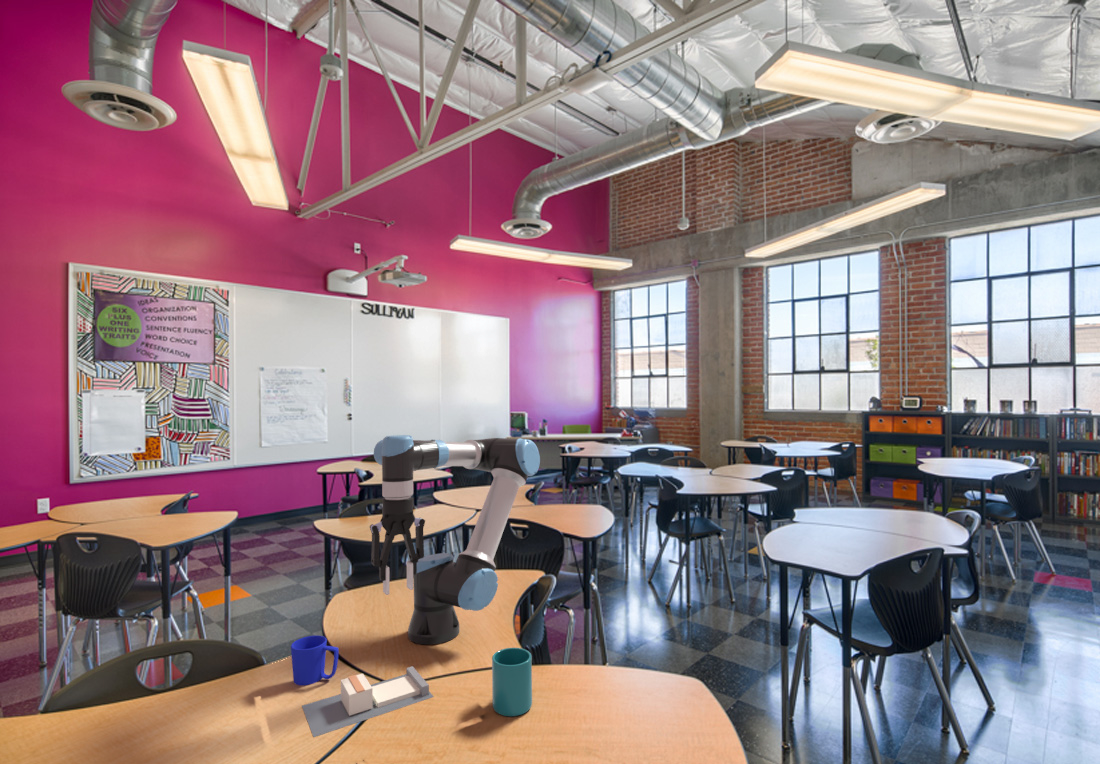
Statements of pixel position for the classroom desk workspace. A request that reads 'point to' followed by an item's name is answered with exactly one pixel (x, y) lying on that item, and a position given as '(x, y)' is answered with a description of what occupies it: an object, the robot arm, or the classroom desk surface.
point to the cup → (512, 681)
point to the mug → (311, 659)
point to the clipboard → (385, 699)
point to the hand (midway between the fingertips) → (398, 590)
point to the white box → (356, 694)
